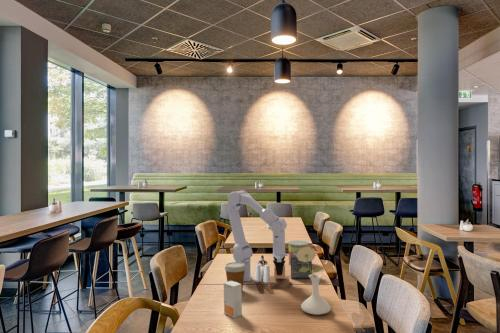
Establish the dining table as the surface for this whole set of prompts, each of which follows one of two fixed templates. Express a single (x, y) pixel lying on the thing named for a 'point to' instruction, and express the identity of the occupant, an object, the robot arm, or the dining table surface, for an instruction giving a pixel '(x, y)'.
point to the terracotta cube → (279, 275)
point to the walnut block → (279, 282)
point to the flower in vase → (315, 301)
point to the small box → (298, 265)
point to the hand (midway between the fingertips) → (279, 273)
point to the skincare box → (232, 299)
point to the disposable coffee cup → (235, 272)
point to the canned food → (296, 248)
